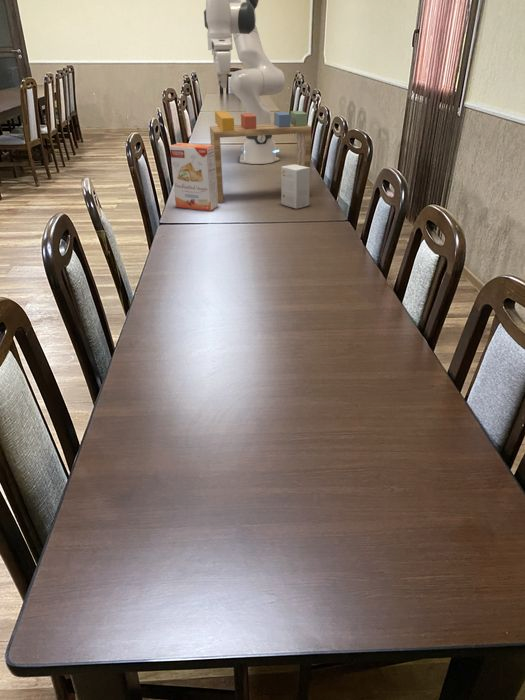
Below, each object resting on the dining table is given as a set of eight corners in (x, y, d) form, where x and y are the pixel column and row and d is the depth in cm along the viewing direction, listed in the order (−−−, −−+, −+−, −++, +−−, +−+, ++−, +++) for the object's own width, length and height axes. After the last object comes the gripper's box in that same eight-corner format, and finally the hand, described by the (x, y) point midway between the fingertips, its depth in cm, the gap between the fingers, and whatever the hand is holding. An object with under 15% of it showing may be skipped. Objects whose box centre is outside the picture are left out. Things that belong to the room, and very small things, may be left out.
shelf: (214, 194, 203) (209, 126, 191) (301, 188, 208) (302, 121, 196) (218, 202, 193) (213, 131, 181) (309, 196, 198) (311, 126, 186)
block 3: (290, 123, 194) (290, 111, 192) (301, 122, 194) (301, 110, 192) (295, 126, 187) (296, 114, 185) (307, 126, 188) (307, 113, 186)
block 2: (274, 124, 193) (274, 112, 191) (285, 123, 193) (285, 111, 191) (279, 127, 186) (279, 114, 184) (290, 126, 187) (290, 114, 185)
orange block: (215, 122, 198) (214, 111, 196) (226, 122, 199) (225, 110, 197) (222, 131, 181) (221, 118, 179) (234, 130, 182) (233, 117, 180)
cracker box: (175, 208, 188) (168, 145, 177) (183, 203, 193) (177, 142, 182) (210, 211, 184) (206, 147, 173) (218, 207, 188) (214, 144, 178)
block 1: (241, 125, 191) (240, 113, 189) (252, 125, 191) (251, 113, 189) (245, 129, 184) (244, 116, 182) (256, 128, 185) (256, 116, 183)
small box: (309, 205, 188) (310, 167, 181) (296, 209, 184) (296, 170, 178) (294, 201, 193) (294, 163, 186) (280, 204, 190) (280, 166, 183)
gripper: (208, 44, 202) (211, 85, 209) (214, 44, 185) (217, 89, 191) (225, 44, 203) (227, 84, 210) (232, 44, 185) (234, 88, 192)
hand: (222, 86), depth 201 cm, fingers open, 8 cm apart
